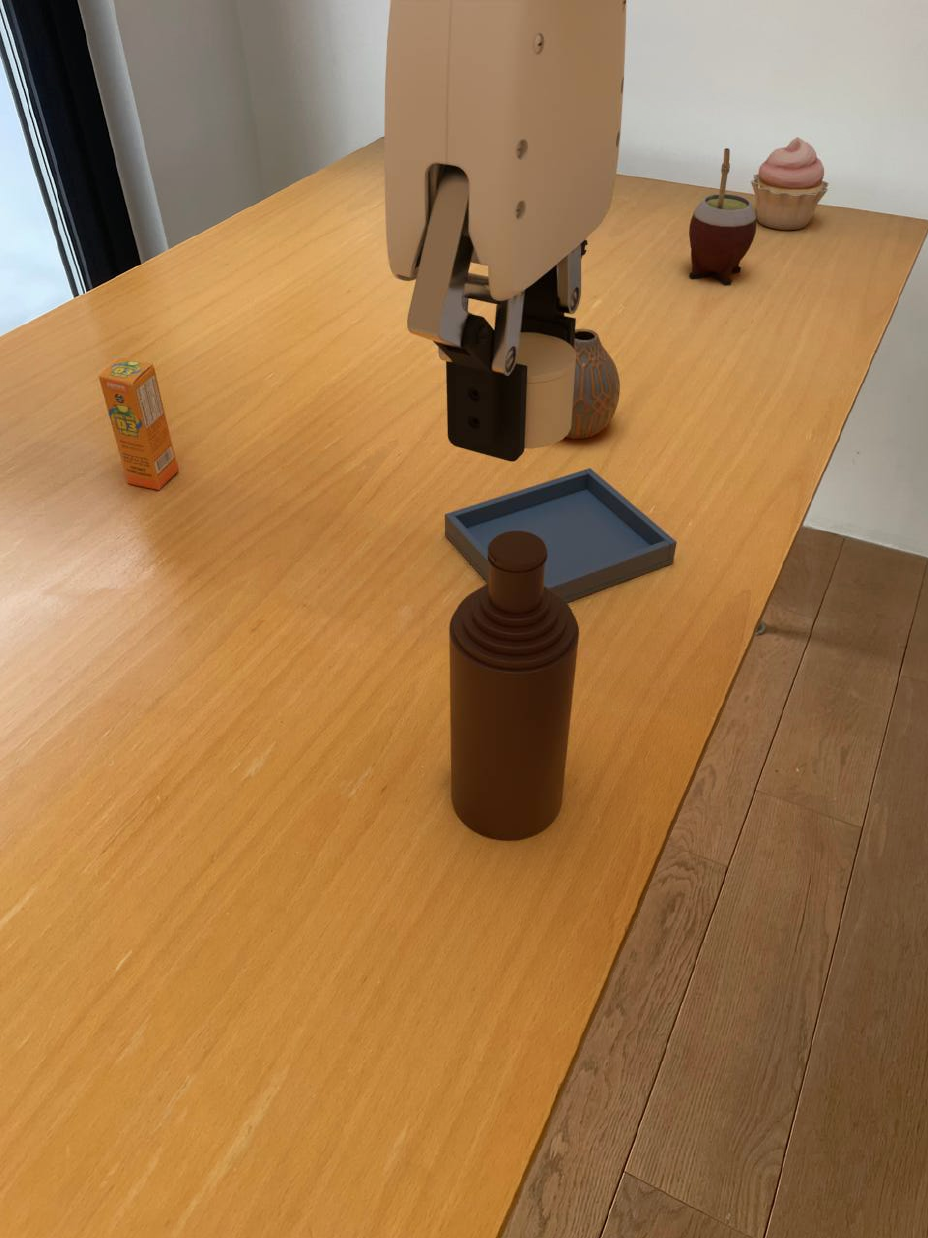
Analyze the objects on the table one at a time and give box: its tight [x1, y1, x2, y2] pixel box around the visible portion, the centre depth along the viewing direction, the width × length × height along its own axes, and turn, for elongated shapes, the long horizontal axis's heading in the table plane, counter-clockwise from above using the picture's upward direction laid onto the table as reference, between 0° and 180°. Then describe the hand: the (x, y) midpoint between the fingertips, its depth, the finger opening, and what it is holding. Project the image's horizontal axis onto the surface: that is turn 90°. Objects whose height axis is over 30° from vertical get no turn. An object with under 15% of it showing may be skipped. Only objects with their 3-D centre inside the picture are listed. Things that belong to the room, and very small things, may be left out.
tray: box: [444, 467, 678, 604], centre depth 75 cm, size 13×11×2 cm
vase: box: [564, 328, 621, 440], centre depth 86 cm, size 7×7×9 cm
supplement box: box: [98, 356, 179, 491], centre depth 80 cm, size 3×3×10 cm
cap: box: [517, 332, 576, 450], centre depth 41 cm, size 4×4×3 cm
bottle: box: [448, 531, 580, 841], centre depth 52 cm, size 6×6×18 cm
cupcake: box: [750, 136, 830, 231], centre depth 123 cm, size 9×9×10 cm
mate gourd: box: [688, 147, 757, 286], centre depth 109 cm, size 8×8×15 cm
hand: (510, 420), depth 42 cm, fingers closed on cap, 3 cm apart
